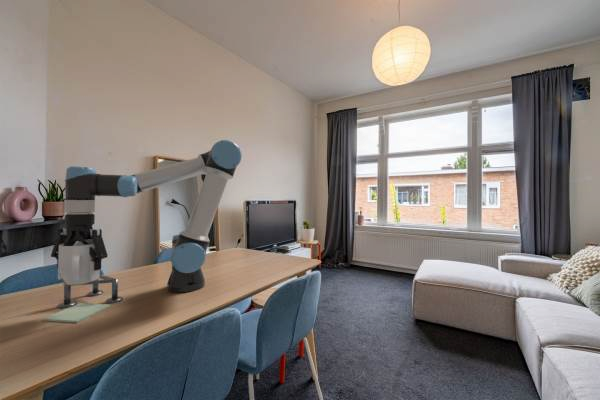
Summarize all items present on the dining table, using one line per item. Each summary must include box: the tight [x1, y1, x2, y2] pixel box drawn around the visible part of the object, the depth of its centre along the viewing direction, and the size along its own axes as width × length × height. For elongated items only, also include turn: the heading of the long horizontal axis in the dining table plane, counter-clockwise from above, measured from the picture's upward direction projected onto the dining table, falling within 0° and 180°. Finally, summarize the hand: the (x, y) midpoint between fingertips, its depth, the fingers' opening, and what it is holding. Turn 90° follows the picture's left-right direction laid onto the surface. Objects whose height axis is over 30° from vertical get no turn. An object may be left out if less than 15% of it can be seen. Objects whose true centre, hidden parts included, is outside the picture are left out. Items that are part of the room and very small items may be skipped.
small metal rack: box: [57, 274, 124, 309], centre depth 94 cm, size 18×16×9 cm
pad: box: [42, 302, 112, 324], centre depth 83 cm, size 12×12×1 cm
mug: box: [58, 241, 97, 286], centre depth 83 cm, size 15×11×13 cm
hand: (78, 279), depth 83 cm, fingers closed on mug, 11 cm apart
